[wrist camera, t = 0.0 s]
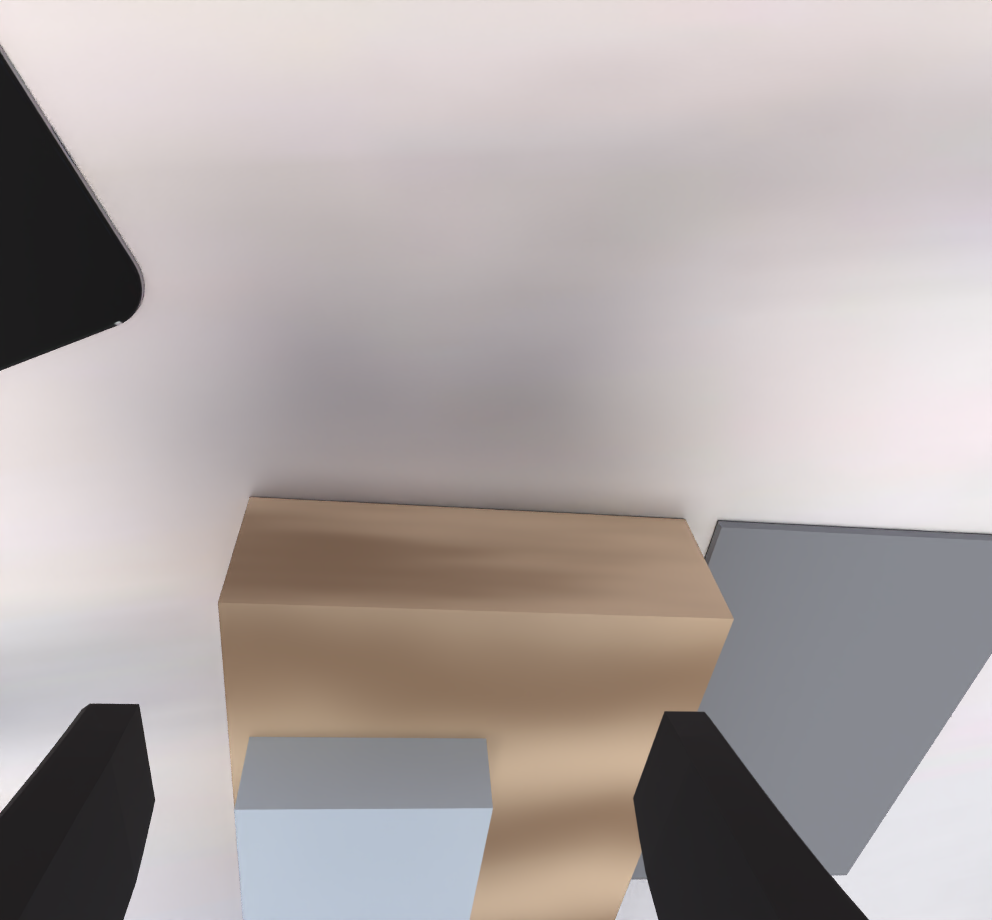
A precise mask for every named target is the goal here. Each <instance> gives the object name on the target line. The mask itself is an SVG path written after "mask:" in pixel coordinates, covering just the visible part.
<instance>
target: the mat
mask: <svg viewBox="0 0 992 920" xmlns="http://www.w3.org/2000/svg"><path fill="white" fill-rule="evenodd" d="M705 561H706V563H707V565H708V567H709V569H710V571H711V573H712V575H713V577H714V579H715V581H716V583H717V585H718V587H719V589H720V592H721V594H722V596H723V598H724V600H725V602H726V604H727V606H728V608H729V610H730V612H731V614H732V616H733V618H734V620H733V623H732V625H731V628H730V630H729V633H728V635H727V638H726V640H725V643H724V645H723V648H722V650H721V653H720V655H719V658H718V660H717V663H716V665H715V668H714V671H713V673H712V676H711V678H710V681H709V683H708V686H707V688H706V691H705V693H704V696H703V698H702V701H701V703H700V706H699V708H698V711H697V712H705V713H706V714H707V715H708V716H709V717H710V719H711V720H712V721H713V723H714V724H715V725H716V727H717V728H718V730H719V731H720V732H721V734H722V735H723V736H724V738H725V739H726V740H727V742H728V743H729V744H730V746H731V747H732V748H733V750H734V751H735V753H736V754H737V755H738V757H739V758H740V759H741V761H742V762H743V763H744V765H745V766H746V767H747V769H748V770H749V771H750V773H751V774H752V775H753V777H754V778H755V779H756V781H757V782H758V783H759V785H760V786H761V787H762V789H763V790H764V791H765V793H766V794H767V795H768V797H769V798H770V799H771V801H772V802H773V803H774V805H775V806H776V807H777V808H778V810H779V811H780V812H781V814H782V815H783V816H784V817H785V819H786V820H787V821H788V823H789V824H790V825H791V826H792V828H793V829H794V830H795V831H796V833H797V834H798V835H799V836H800V838H801V839H802V840H803V841H804V843H805V844H806V845H807V846H808V848H809V849H810V850H811V851H812V853H813V854H814V855H815V856H816V858H817V859H818V860H819V861H820V863H821V864H822V865H823V866H824V868H825V869H826V870H827V871H828V872H829V874H830V875H847V874H848V872H849V871H850V869H851V868H852V866H853V864H854V863H855V861H856V860H857V858H858V857H859V855H860V854H861V852H862V851H863V849H864V848H865V846H866V845H867V843H868V842H869V840H870V839H871V837H872V835H873V834H874V832H875V831H876V829H877V828H878V826H879V825H880V823H881V822H882V820H883V819H884V817H885V816H886V814H887V813H888V811H889V810H890V808H891V806H892V805H893V803H894V802H895V800H896V799H897V797H898V796H899V794H900V793H901V791H902V790H903V788H904V787H905V785H906V784H907V782H908V781H909V779H910V777H911V776H912V774H913V773H914V771H915V770H916V768H917V767H918V765H919V764H920V762H921V761H922V759H923V758H924V756H925V755H926V753H927V752H928V750H929V748H930V747H931V745H932V744H933V742H934V741H935V739H936V738H937V736H938V735H939V733H940V732H941V730H942V729H943V727H944V726H945V724H946V723H947V721H948V719H949V718H950V716H951V715H952V713H953V712H954V710H955V709H956V707H957V706H958V704H959V703H960V701H961V700H962V698H963V697H964V695H965V694H966V692H967V690H968V689H969V687H970V686H971V684H972V683H973V681H974V680H975V678H976V677H977V675H978V674H979V672H980V671H981V669H982V668H983V666H984V665H985V663H986V661H987V660H988V658H989V657H990V655H991V654H992V535H983V534H964V533H944V532H924V531H905V530H885V529H866V528H846V527H827V526H807V525H787V524H768V523H748V522H729V521H718V523H717V526H716V529H715V532H714V535H713V537H712V540H711V543H710V546H709V549H708V552H707V555H706V557H705ZM631 879H647V876H646V873H645V867H644V862H643V856H642V852H641V855H640V857H639V860H638V862H637V865H636V867H635V870H634V873H633V875H632V878H631Z"/></svg>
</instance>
